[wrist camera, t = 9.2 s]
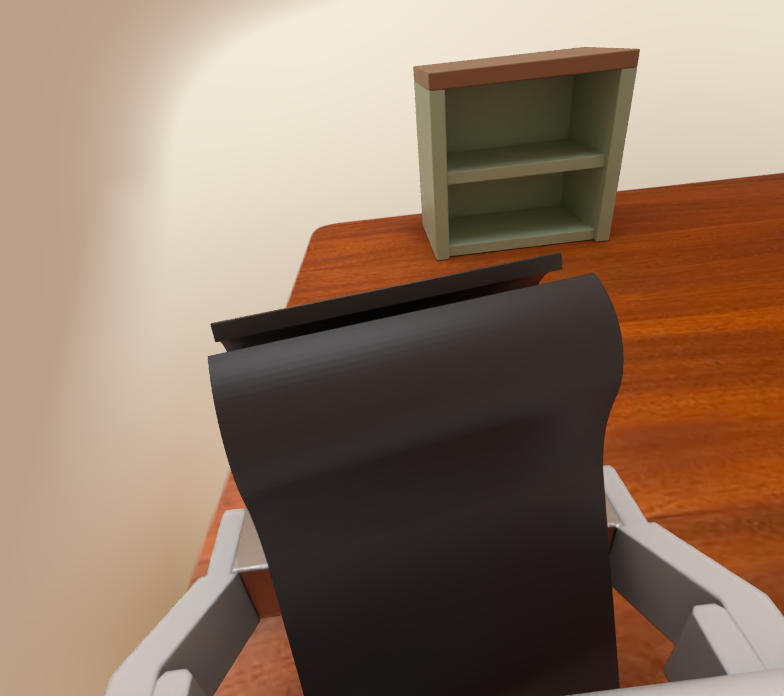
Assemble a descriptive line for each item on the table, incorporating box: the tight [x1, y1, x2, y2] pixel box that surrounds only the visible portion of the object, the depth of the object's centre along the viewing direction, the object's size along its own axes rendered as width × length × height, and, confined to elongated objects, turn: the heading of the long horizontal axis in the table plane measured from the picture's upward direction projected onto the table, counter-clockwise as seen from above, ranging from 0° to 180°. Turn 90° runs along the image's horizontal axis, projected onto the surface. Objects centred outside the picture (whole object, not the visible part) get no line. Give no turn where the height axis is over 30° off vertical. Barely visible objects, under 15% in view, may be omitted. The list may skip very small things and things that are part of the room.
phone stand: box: [208, 253, 623, 696], centre depth 11 cm, size 9×6×12 cm, turn 16°
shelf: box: [413, 47, 640, 260], centre depth 44 cm, size 16×10×15 cm, turn 94°
